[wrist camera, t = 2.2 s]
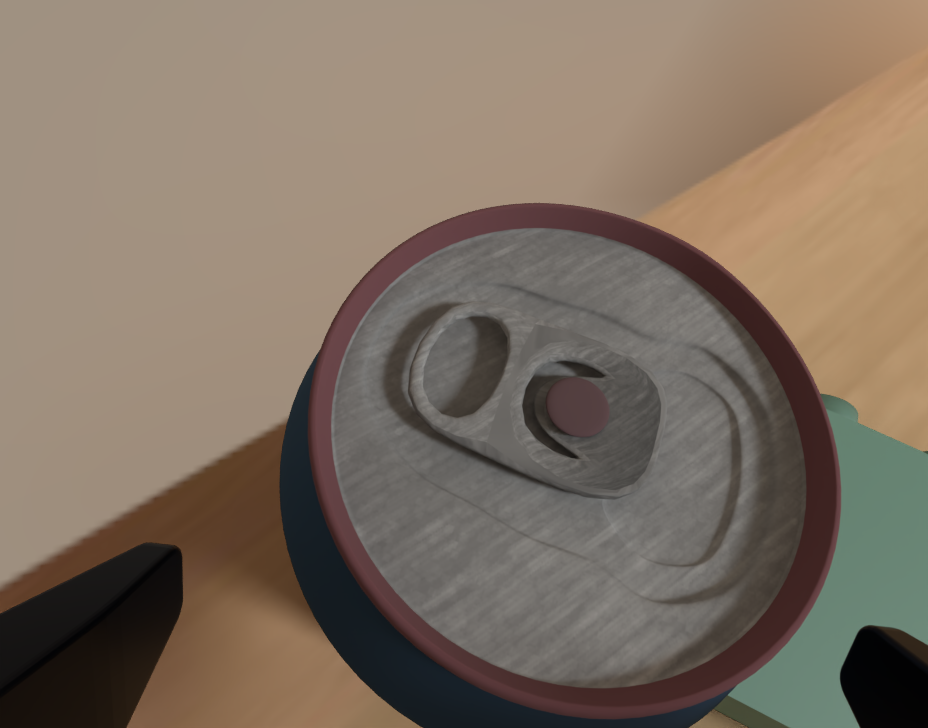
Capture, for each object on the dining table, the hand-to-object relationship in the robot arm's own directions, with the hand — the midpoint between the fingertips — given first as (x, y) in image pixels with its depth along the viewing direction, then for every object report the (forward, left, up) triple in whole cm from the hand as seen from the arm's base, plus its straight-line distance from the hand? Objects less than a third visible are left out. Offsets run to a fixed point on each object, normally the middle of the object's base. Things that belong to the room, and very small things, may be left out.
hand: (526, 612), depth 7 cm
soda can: (+2, +1, -10) cm, 10 cm away
